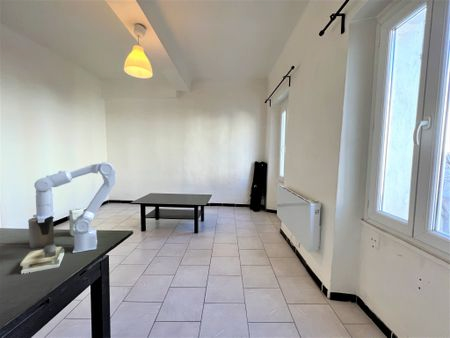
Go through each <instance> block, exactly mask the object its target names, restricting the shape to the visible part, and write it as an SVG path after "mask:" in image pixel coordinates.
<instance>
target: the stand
mask: <svg viewBox="0 0 450 338" xmlns="http://www.w3.org/2000/svg"><path fill="white" fill-rule="evenodd" d="M64 255H65V248H62V251H61V253H60V255H59V257H58V259H57V260H52V261H46V262H41V263H35V264H30V265H24V266H22V269H21V271H20V273H21V275H24V274H29V272H30V273H33V272H40V271H43V270H49V269H54V268H59V267H60V265H61V263H62V260H63V258H64ZM23 273H24V274H23Z"/></svg>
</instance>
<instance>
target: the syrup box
mask: <svg viewBox="0 0 450 338" xmlns="http://www.w3.org/2000/svg"><path fill="white" fill-rule="evenodd" d="M84 211H85V210H84V209H83V208H80V207H79V208H74V209H68V217H69V218H68V219H69V220H68V221H69V223H68V224H69V235H70V236H71V237H74V230H75V220H76V219H77V218H78V217H79V216H81V215H82V213H83V212H84Z"/></svg>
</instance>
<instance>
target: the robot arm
mask: <svg viewBox="0 0 450 338" xmlns="http://www.w3.org/2000/svg"><path fill="white" fill-rule="evenodd" d="M99 173H100V175H101V176H102V180H103V183H102V185H101V186H100V188H99V189H98V191H97V192H96V193H95V195H94V197H93V199H92V200H91V201H90V202H89V204H88V206H87V207H86V208H85V210H84V212H83V213H82V215H81V216H79V217H78V218H77V219H76V220H75V230H74V236H73V241H74V242H73V244H74V247H73V250H72V254H74V253H83V252H86V251H92V250H93V251H94V250H97V246H98V237H97V229H94V228H92V227H91V225H92V222H93V220H94V218H95V215H96V214H97V212H98V210H99V209H100V207H101V206H102V204H103V203H104V202H105V200H106V199H107V197H108V195H109V194H110V192H111V191H112V189H113V187H114V186H115V185H116V170H115V168H114V166H113V165H112V163H110V162H105V161H104V162H103V161H102V162H101V163H93V164H90V165H86V166H84V167H80V168H79V169H76V170H73V171H68V170H64V171H63V170H59V171H58V172H57V173H53V174H47V175H46V176H45V177H41V178H39V179H37V180H36V181H35V182H34V183H33V184H34V185H33V187H34V189H35V209H36V210H35V211H36V214H34V215H32V218H35V217H36V218H37V219H38V220H36V223H37V224H38V226H39V227H40V230H41V233H42V235H47V234H49V231H50V226H51V222H52V220H53V221H54V215H55V214H54V205H53V202H54V201H53V192H52V188H57V187H60V186H63V185H66V184H69V183H71V182H72V181H73V179H74V178H75V179H76V178H78V177H82V176H84V175H89V174H99ZM50 216H53V217H50Z"/></svg>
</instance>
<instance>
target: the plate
mask: <svg viewBox="0 0 450 338" xmlns="http://www.w3.org/2000/svg"><path fill="white" fill-rule="evenodd" d="M62 249H64V247H63V246H56V244H54V243H53V244H51V245H47V246H45V247H43V249H38V250H31V251H29V252H28V253H27V255H26V256H25V257H24V258H23V260H22V261H21V262H20V265H19V266H20V267H23V266H24V265H30V264H35V263H41V262H46V261H52V260H57V259H58V257H59V255H60V253H61V251H62Z"/></svg>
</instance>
